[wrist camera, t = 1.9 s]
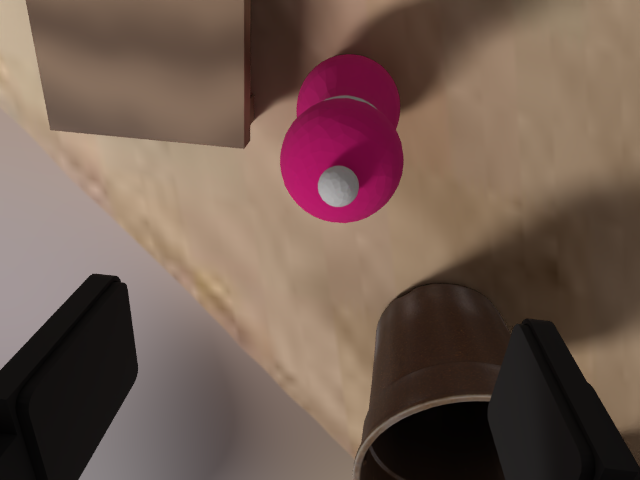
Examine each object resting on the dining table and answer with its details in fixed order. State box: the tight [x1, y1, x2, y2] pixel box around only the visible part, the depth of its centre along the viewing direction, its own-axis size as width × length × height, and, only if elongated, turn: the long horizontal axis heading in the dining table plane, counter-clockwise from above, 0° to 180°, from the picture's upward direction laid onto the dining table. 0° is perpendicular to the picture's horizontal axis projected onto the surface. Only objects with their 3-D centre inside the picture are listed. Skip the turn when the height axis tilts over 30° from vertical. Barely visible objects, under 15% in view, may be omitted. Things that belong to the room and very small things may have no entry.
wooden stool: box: [26, 0, 254, 149], centre depth 34 cm, size 14×14×6 cm
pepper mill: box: [280, 54, 403, 223], centre depth 29 cm, size 7×7×20 cm
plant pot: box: [353, 284, 511, 480], centre depth 40 cm, size 16×16×16 cm
